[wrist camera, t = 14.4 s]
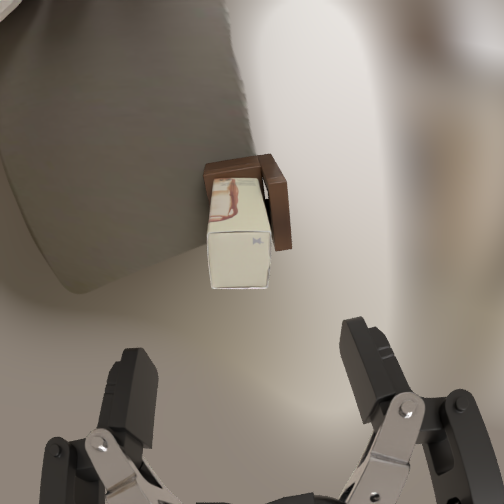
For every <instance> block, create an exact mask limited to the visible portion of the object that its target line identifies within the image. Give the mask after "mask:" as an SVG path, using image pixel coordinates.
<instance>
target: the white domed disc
mask: <svg viewBox="0 0 504 504" xmlns="http://www.w3.org/2000/svg"><path fill="white" fill-rule="evenodd" d="M21 1H22V0H0V22H1V21H2V20H3V19H4V18H5V17H6V16H7V15H8V14H9V13H11V12H12V11H13V10H14V9H15V8H16V7H17V6H18V5H19V4H20V3H21Z"/></svg>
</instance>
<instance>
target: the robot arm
mask: <svg viewBox="0 0 504 504" xmlns="http://www.w3.org/2000/svg"><path fill="white" fill-rule="evenodd" d="M339 348H340V354H341V358H342V361H343V364H344V366H345V369H346V372H347V375H348V378H349V381H350V384H351V387H352V390H353V393H354V396H355V399H356V403H357V406H358V409H359V411H360V415H361V418H362V421H363V424H366V423H369V422H371V423H372V426H373V432H372V434H371V436H370V439H369V441H368V443H367V445H366V448H365V450H364V452H363V454H362V456H361V458H360V460H359V462H358V464H357V466H356V468H355V470H354V472H353V473H352V475H351V476H350V478H349V480H348V482H347V483H346V485H345V487H344V489H343V491H342V493H341V494H340V496H339V498H338V499H335V498H332V497H328V496H321V495H314V494H313V493H307V494H301V495H296V496H290V497H283V498H281V499H278V500H275V501H272V502H270V503H267V504H396V502H397V500H398V498H399V496H400V493H401V491H402V489H403V487H404V484H405V482H406V480H407V477H408V474H409V471H410V464H409V461H410V457H411V455H412V452H413V449H414V446H415V444H422V446H423V449H424V453H425V456H426V460H427V463H428V468H429V471H430V475H431V480H432V484H433V488H434V492H435V497H436V502H437V504H504V485H503V481H502V477H501V473H500V470H499V466H498V463H497V459H496V456H495V453H494V450H493V447H492V444H491V441H490V438H489V435H488V432H487V430H486V427H485V424H484V422H483V419H482V416H481V414H480V411H479V409H478V406H477V404H476V401H475V399H474V397H473V396H472V394H471V393H470V392H468V391H466V390H463V389H457V390H454V391H452V392H451V393H450V394H449V395H448V396H447V397H439V398H424V397H420V396H418V395H417V394H415V393H414V392H413V391H412V390H411V389H410V387H409V385H408V383H407V381H406V379H405V377H404V374H403V372H402V370H401V367H400V365H399V363H398V361H397V359H396V357H395V356H394V353H393V351H392V348H390V344H389V342H388V340H387V338H386V336H385V335H384V334H383V333H382V332H381V331H380V330H379V329H378V328H377V327H372V328H368V327H367V325H366V323H365V321H364V319H363V318H362V317H356V318H352V319H347V320H343V322H342V329H341V336H340V343H339ZM157 388H158V372H157V369H156V367H155V366H154V364H153V363H152V361H151V359H150V358H149V356H148V355H147V353H146V352H145V350H144V349H143V348H129V349H128V348H127V349H125V350H124V351H123V354H122V358H121V361H119V362H115V364H114V365H113V367H112V368H111V370H110V371H109V375H108V379H107V385H106V388H105V393H104V397H103V402H102V406H101V411H100V416H99V422H98V426H97V428H96V429H94V430H92V431H91V432H90V433H89V434H88V436H87V437H86V438H84V439H80V440H75V441H70V442H68V441H66V440H64V439H63V438H61V437H54V438H52V439H50V440H49V441H48V443H47V444H46V447H45V452H44V459H43V467H42V477H41V486H40V500H39V504H105V499H106V501H107V503H108V504H182V502H181V501H180V500H179V499H178V498H177V497H176V496H175V495H174V494H173V493H171V492H170V491H169V490H168V489H167V488H166V487H165V486H164V484H163V483H162V481H161V480H160V479H159V477H158V476H157V475H156V473H155V472H154V471H153V469H152V468H151V467H150V465H149V464H148V462H147V461H146V459H145V458H144V457H143V455H142V453H143V448H149V449H152V439H153V426H154V416H155V415H154V414H155V406H156V397H157ZM105 488H106V490H107V493H106V494H105ZM196 504H229V503H196Z"/></svg>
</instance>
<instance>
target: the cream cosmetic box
mask: <svg viewBox="0 0 504 504" xmlns="http://www.w3.org/2000/svg"><path fill="white" fill-rule="evenodd" d="M207 255H208V267H209V276H210V282H211V287H212V289H266V288H268V284H269V276H270V266H271V229H270V225H269V221H268V217H267V213H266V209H265V205H264V201H263V197H262V193H261V189H260V185H259V181H258V179H257V178H219V179H214V181H213V189H212V197H211V205H210V213H209V221H208V230H207Z"/></svg>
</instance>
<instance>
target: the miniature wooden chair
mask: <svg viewBox="0 0 504 504" xmlns="http://www.w3.org/2000/svg"><path fill="white" fill-rule="evenodd" d="M262 177H263V178H262ZM203 178H204V183H205V187H206V192H207V197H208V201H209V206H210V205H211V197H212V189H213V181H214V179H219V178H257V179H258V181H259V185H260V189H261V193H262V197H263V201H264V205H265V209H266V213H267V217H268V221H269V225H270V229H271V236H272V240H273V243H274V247H275V251H282V250H288V249H292V239H291V226H290V213H289V201H288V189H287V181H286V179H285V177H284V176H283V174H282V172H281V171H280V169H279V167H278V165H277V163H276V162H275V160H274V158H273V157H272V155H271V154H264V155H257V156H250V157H244V158H237V159H231V160H225V161H219V162H213V163H208V164H206V165H205V169H204V174H203ZM263 180H264V183H265V186H266V188H267V191H268V199H265V194H264V186H263Z"/></svg>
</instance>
